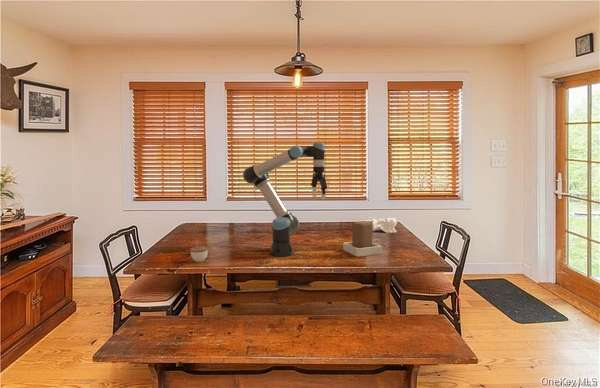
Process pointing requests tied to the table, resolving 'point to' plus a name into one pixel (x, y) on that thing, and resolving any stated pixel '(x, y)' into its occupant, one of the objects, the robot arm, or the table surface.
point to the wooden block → (362, 234)
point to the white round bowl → (199, 253)
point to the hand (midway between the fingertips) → (318, 198)
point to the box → (362, 249)
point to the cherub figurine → (385, 225)
